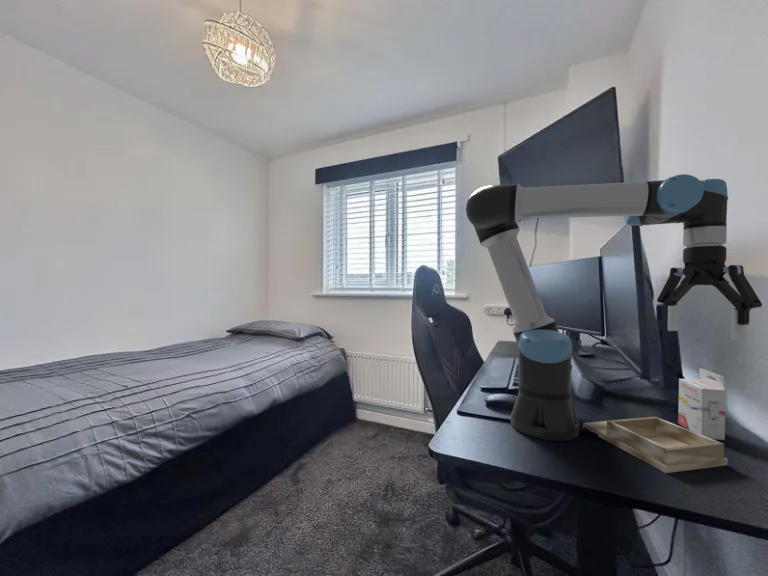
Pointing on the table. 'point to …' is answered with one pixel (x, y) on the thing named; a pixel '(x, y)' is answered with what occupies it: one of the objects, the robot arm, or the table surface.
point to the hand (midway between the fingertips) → (702, 334)
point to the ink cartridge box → (703, 405)
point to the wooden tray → (661, 443)
